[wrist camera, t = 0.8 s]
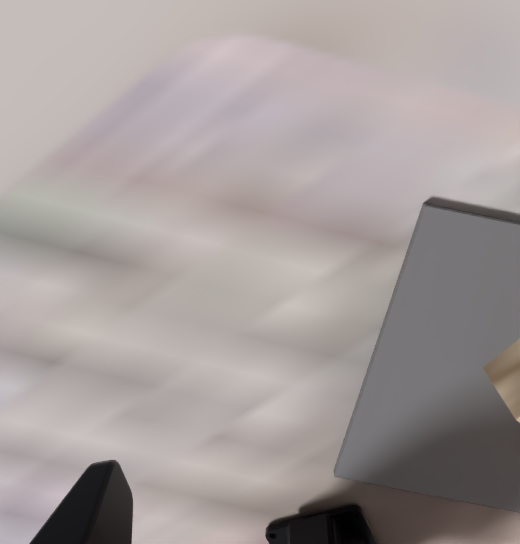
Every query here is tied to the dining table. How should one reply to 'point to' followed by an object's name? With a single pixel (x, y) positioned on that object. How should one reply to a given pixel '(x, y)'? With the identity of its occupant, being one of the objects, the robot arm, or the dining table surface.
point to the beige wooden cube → (507, 377)
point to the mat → (443, 368)
